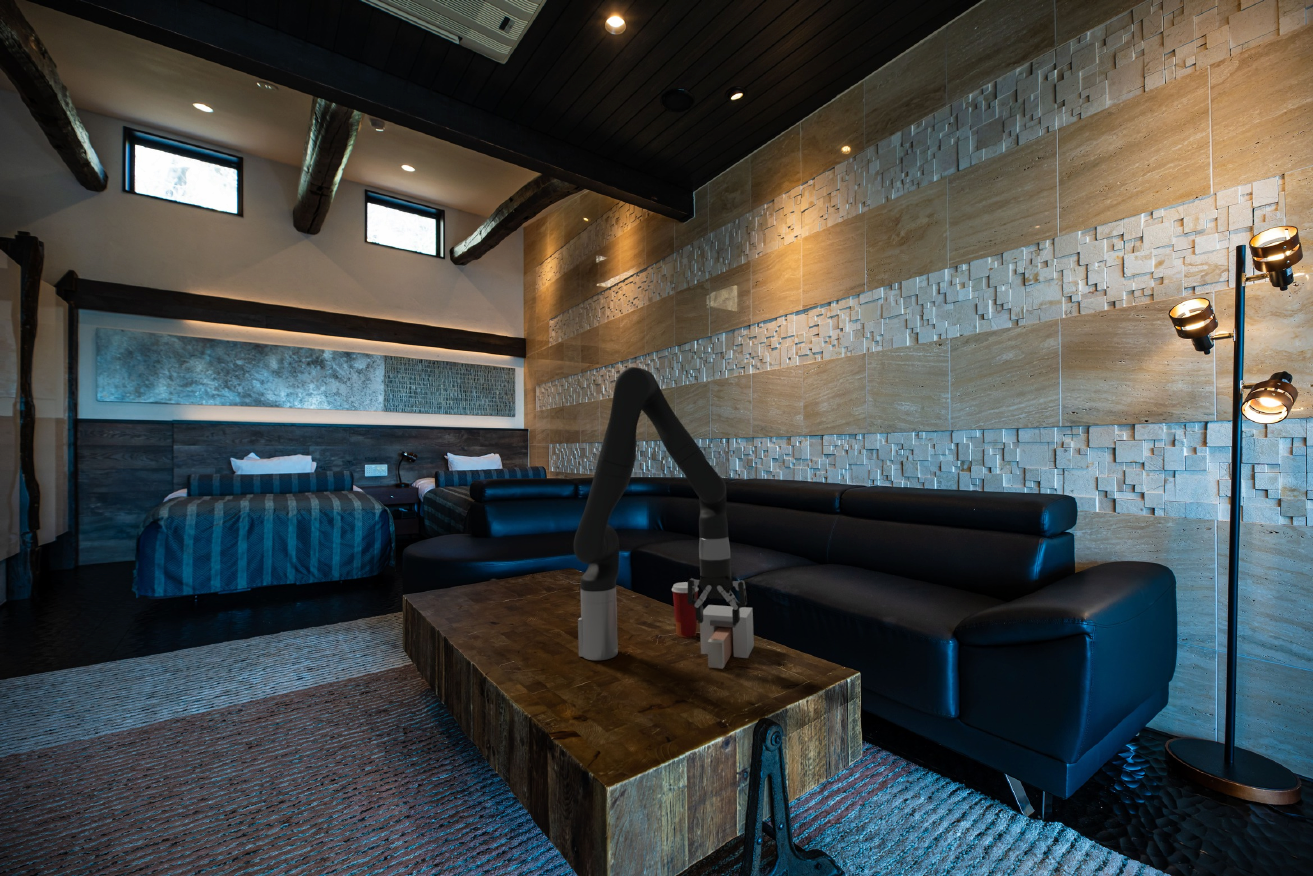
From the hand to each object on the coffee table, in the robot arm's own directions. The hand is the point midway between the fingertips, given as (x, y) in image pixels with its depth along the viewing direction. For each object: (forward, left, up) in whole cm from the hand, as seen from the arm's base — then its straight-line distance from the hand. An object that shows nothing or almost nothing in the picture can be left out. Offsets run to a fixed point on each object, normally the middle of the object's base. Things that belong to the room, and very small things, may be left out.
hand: (718, 623), depth 131 cm
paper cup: (-14, +20, -10) cm, 26 cm away
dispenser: (0, +11, -10) cm, 15 cm away
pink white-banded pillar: (0, +6, -10) cm, 11 cm away
